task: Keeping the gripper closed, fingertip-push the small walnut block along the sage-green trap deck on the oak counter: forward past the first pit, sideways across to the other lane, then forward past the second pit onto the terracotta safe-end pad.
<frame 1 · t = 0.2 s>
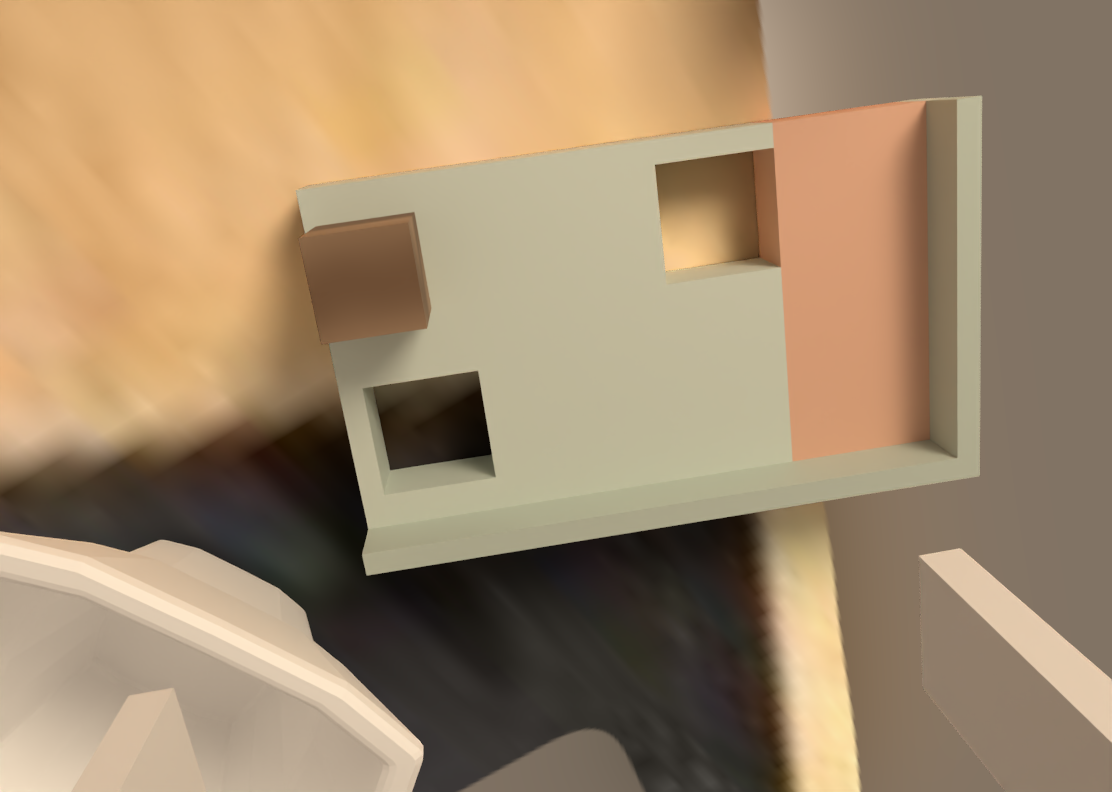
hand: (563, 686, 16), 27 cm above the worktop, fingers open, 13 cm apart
trap deck: (636, 319, 42), on the worktop
walnut block: (374, 267, 38), point 3 cm above the worktop, touching trap deck
bowl: (204, 623, 45), on the worktop
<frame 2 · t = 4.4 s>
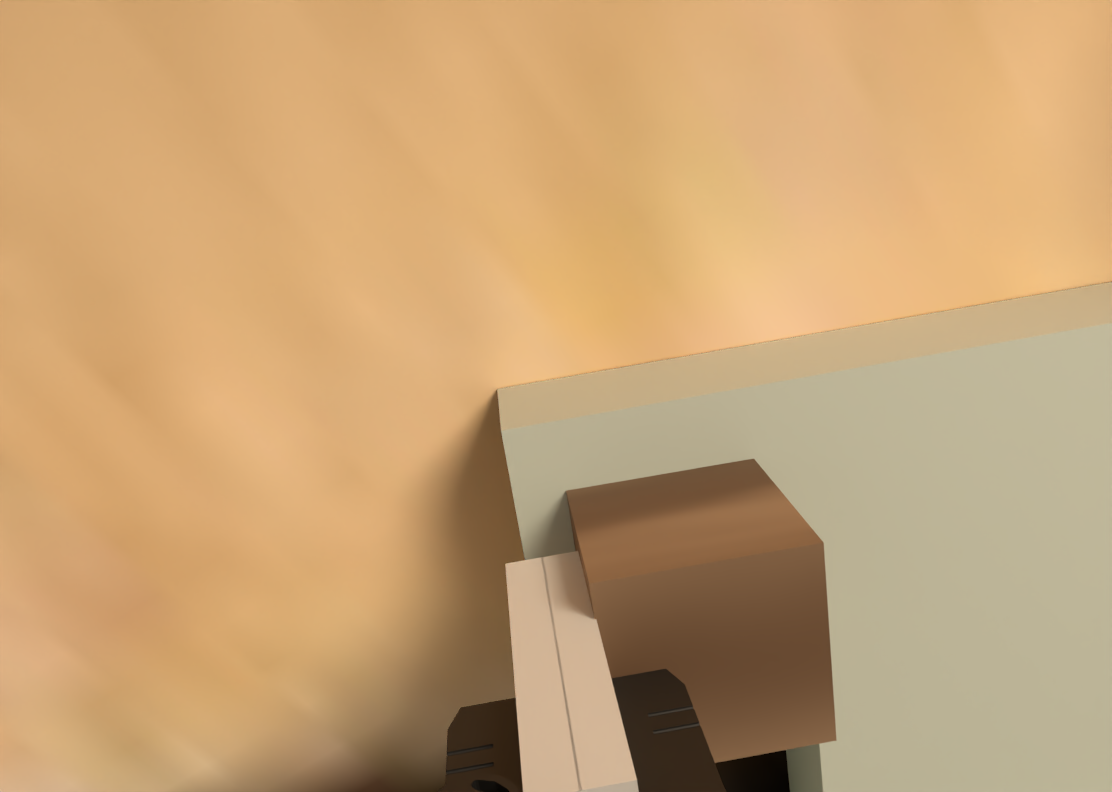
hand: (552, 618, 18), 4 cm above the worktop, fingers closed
trap deck: (1050, 585, 24), on the worktop
walnut block: (670, 559, 20), point 3 cm above the worktop, touching gripper
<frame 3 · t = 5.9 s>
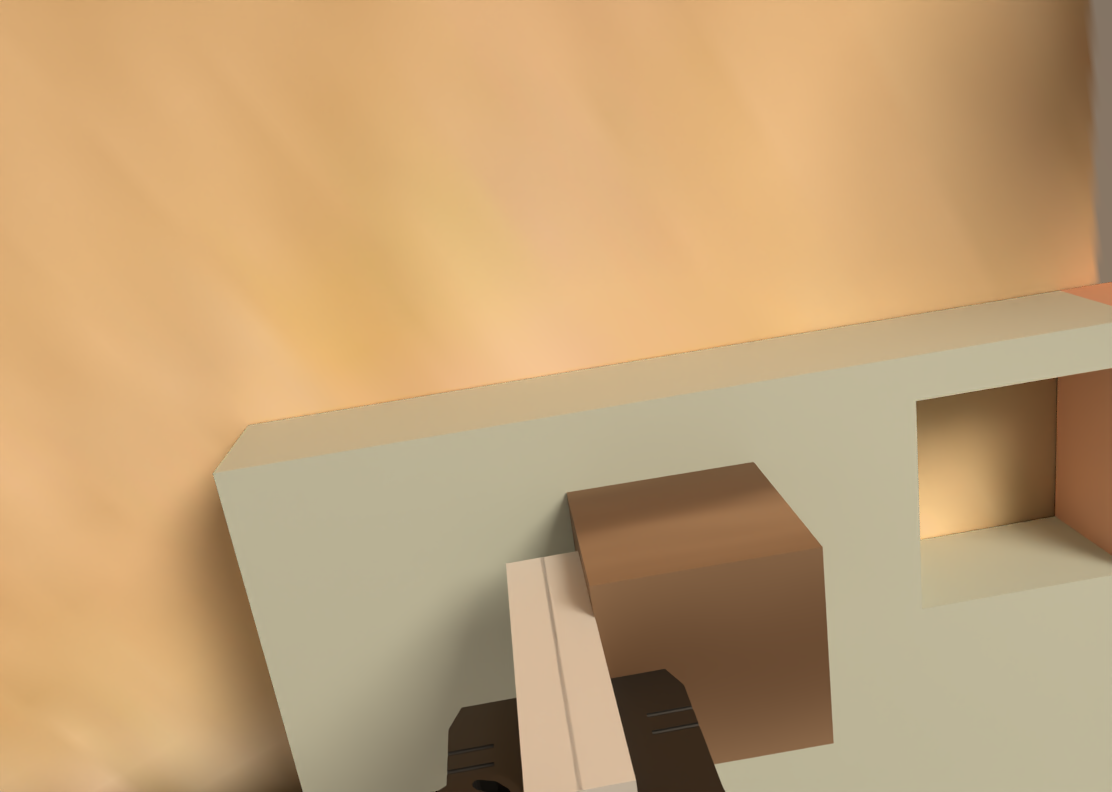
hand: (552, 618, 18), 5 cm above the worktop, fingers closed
trap deck: (834, 623, 24), on the worktop
walnut block: (670, 561, 20), point 3 cm above the worktop, touching gripper, trap deck
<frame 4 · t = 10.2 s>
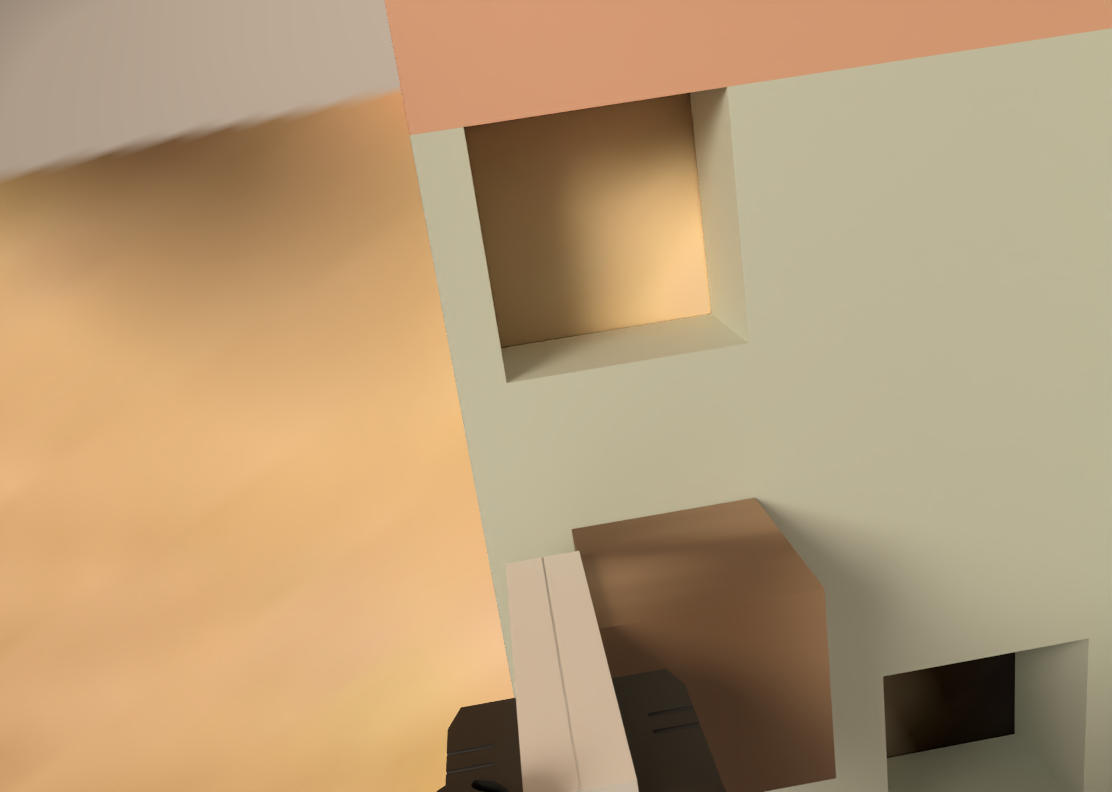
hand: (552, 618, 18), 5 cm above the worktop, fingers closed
trap deck: (796, 340, 22), on the worktop
walnut block: (673, 595, 20), point 3 cm above the worktop, touching gripper
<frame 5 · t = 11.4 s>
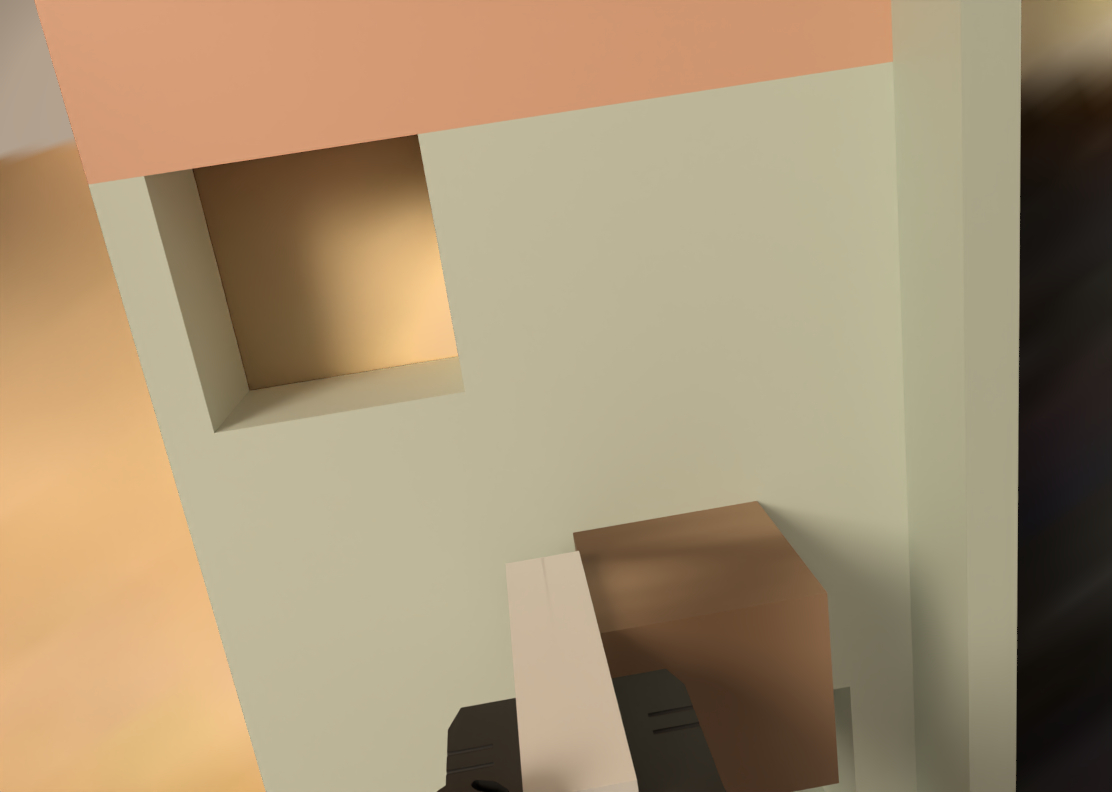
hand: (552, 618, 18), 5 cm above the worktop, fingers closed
trap deck: (557, 382, 21), on the worktop
walnut block: (675, 599, 20), point 3 cm above the worktop, touching gripper, trap deck
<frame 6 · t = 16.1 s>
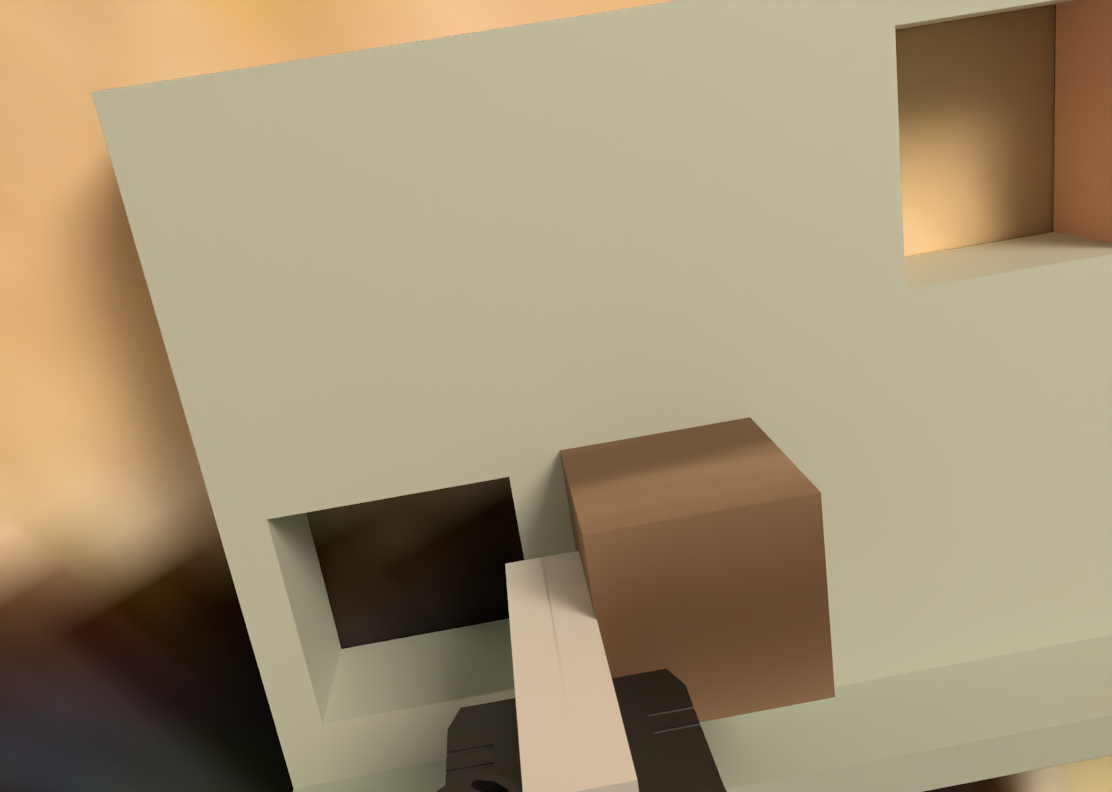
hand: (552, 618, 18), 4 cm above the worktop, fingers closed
trap deck: (810, 356, 22), on the worktop
walnut block: (666, 521, 19), point 3 cm above the worktop, touching gripper
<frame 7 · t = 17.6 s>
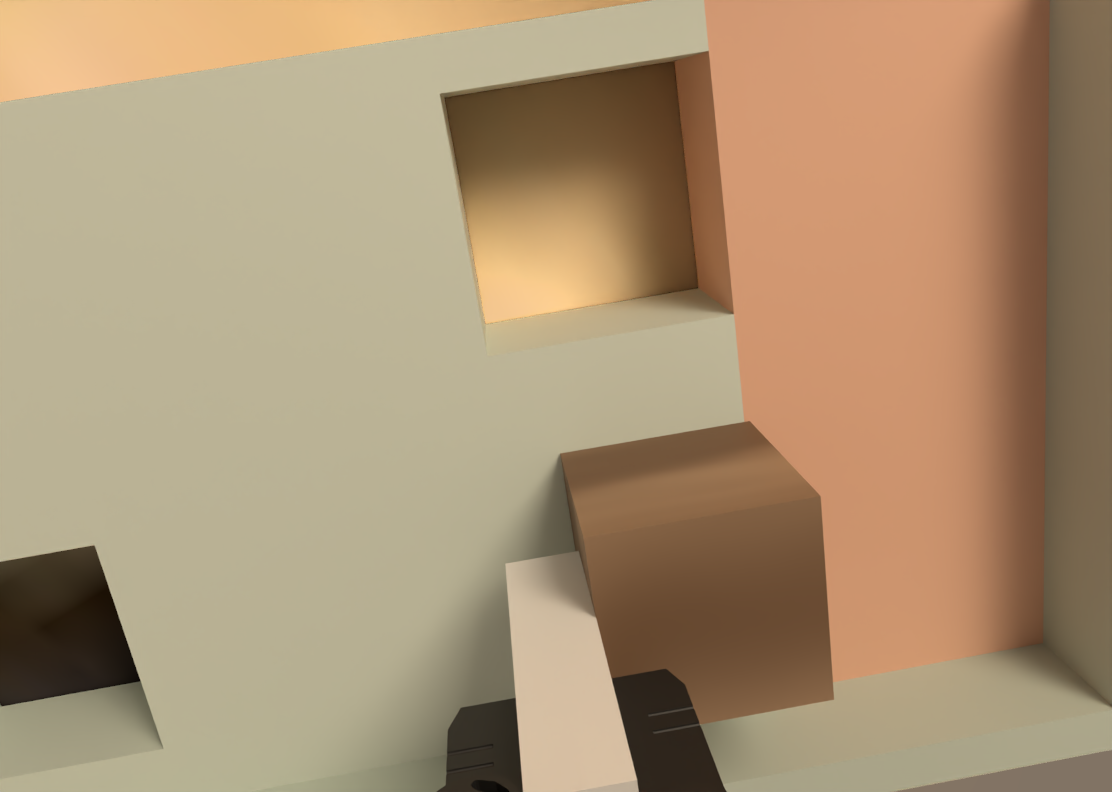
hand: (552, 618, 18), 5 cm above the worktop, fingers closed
trap deck: (458, 413, 21), on the worktop
walnut block: (666, 524, 19), point 3 cm above the worktop, touching gripper, trap deck
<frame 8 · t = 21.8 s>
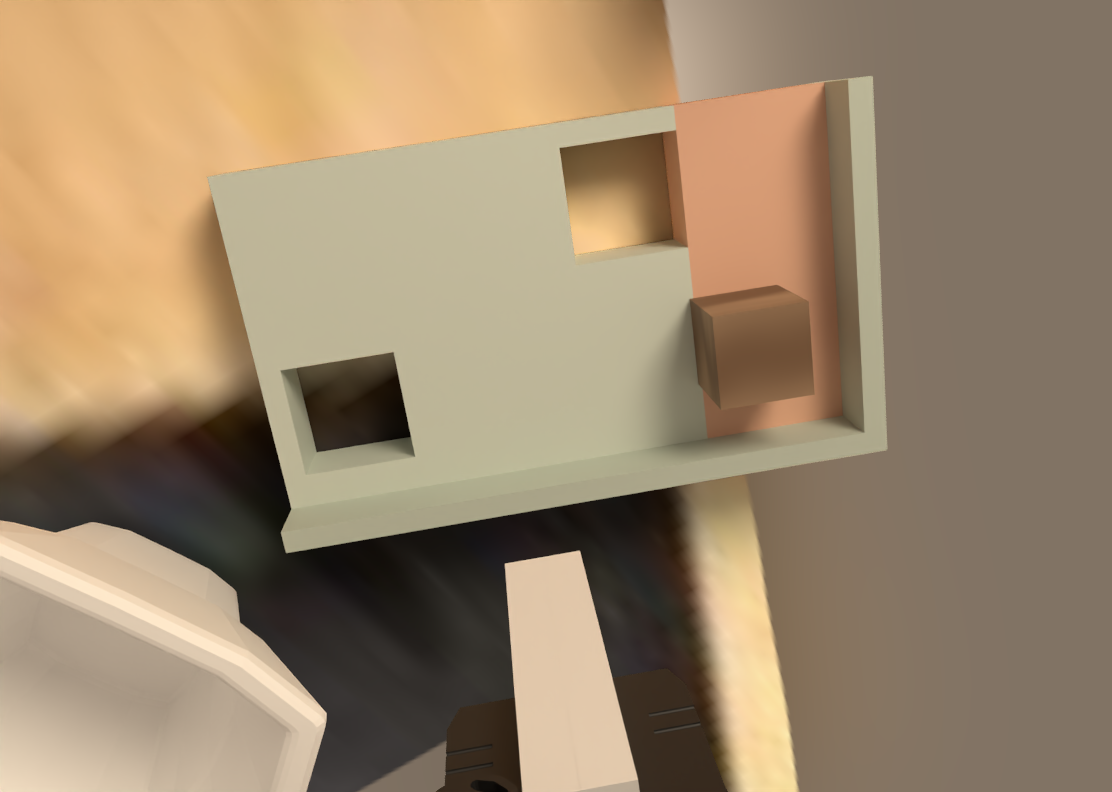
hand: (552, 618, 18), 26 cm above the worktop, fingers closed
trap deck: (553, 301, 43), on the worktop
walnut block: (737, 334, 41), point 3 cm above the worktop, touching trap deck
bowl: (139, 604, 46), on the worktop
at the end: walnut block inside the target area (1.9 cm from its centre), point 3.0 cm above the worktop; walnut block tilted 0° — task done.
